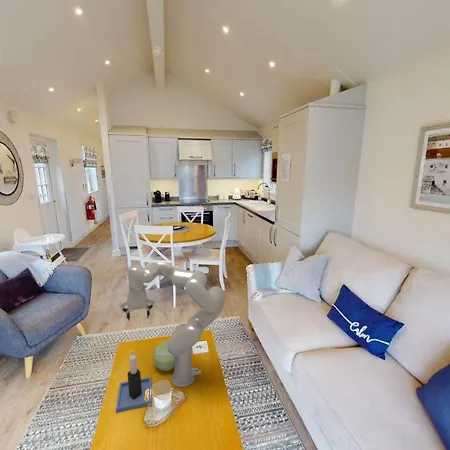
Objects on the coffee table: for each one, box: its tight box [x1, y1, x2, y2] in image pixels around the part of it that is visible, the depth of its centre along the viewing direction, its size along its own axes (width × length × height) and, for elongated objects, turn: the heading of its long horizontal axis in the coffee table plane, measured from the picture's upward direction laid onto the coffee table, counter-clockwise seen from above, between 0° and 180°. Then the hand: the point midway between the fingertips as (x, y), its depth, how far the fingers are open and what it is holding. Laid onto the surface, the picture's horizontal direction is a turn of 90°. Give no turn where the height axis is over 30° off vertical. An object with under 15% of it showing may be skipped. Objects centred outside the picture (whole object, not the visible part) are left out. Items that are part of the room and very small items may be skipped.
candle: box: [127, 350, 142, 399], centre depth 131 cm, size 5×5×25 cm
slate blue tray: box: [115, 376, 152, 414], centre depth 133 cm, size 16×16×2 cm
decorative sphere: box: [152, 340, 174, 372], centre depth 151 cm, size 15×15×15 cm
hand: (138, 317), depth 141 cm, fingers open, 9 cm apart
